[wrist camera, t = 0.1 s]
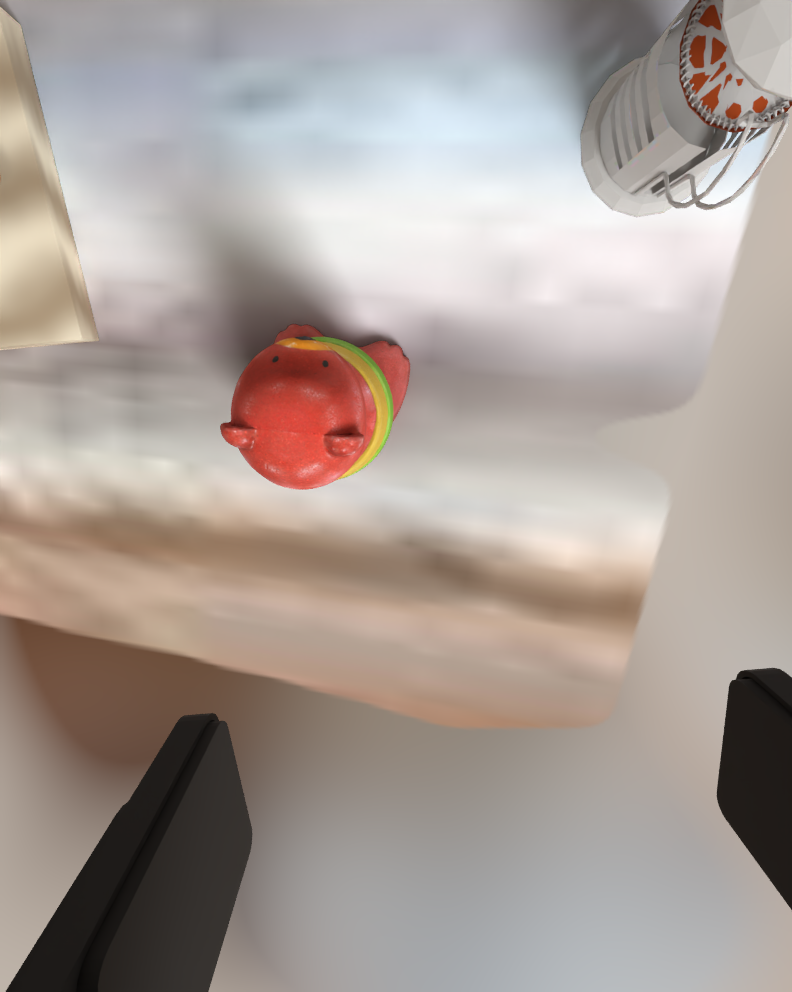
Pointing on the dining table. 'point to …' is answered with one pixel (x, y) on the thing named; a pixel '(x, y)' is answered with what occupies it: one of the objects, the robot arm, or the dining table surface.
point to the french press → (690, 105)
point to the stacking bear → (316, 407)
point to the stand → (33, 218)
